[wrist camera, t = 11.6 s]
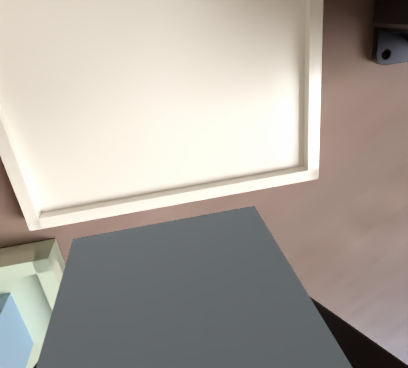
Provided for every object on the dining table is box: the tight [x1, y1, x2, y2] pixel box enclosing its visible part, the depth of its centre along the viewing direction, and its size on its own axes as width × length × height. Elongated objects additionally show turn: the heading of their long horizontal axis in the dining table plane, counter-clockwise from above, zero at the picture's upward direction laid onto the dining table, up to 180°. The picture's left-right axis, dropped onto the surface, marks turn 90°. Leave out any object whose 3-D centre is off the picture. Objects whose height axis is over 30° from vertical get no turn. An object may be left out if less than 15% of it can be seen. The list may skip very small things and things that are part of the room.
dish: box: [0, 0, 323, 231], centre depth 16 cm, size 15×13×1 cm
